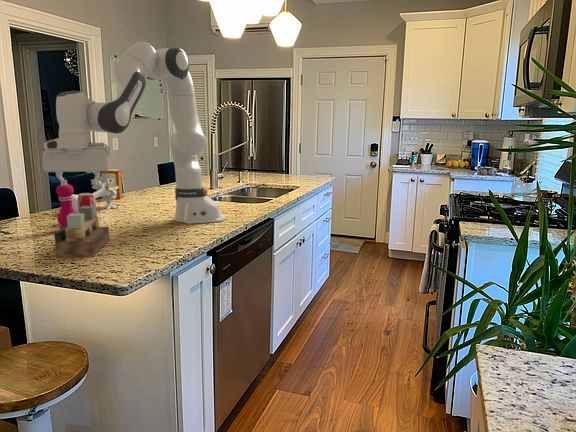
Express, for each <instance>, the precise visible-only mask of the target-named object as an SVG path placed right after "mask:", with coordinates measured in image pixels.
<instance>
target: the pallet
mask: <svg viewBox="0 0 576 432" xmlns="http://www.w3.org/2000/svg"><path fill="white" fill-rule="evenodd" d="M99 223H100V222H99V216H97V217H95V218H94V219H86V220H85V226H83V227H82V228H68V227H67V228H66V229H65V232H66V241H83V240H85V239H86V235H90V234H92V233H93V230H95V229H98V228H99V227H100V225H99Z"/></svg>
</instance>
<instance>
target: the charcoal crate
mask: <svg viewBox="0 0 576 432" xmlns="http://www.w3.org/2000/svg"><path fill="white" fill-rule="evenodd" d="M79 210H80V213H84V219H85V220H86V219H94V218H95V217H96V212H95V206H82V207H81V208H79Z"/></svg>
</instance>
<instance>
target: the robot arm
mask: <svg viewBox="0 0 576 432" xmlns="http://www.w3.org/2000/svg"><path fill="white" fill-rule="evenodd" d="M189 70H190V61H189V56H188V55H187V53H186V52H185V51H184V49H182V48H178V47H166V48H158V49H155V48H154V47H153V46H152V45H151V44H150V43H148V42H146V41H137V42H136V43H134V44H132V45H131V46H130V47H129V48H127V50H125V51H124V53H122V55H121V56H120V57H119V58H118V59H117V61H116V63H115V64H114V67H113V75H114V78H115V80H116V82H118V84H119V85H120V86H121V87H122V89H121V91H120V92H119V94H118V96H117V97H116V99H114V100H112V101H108V102H107V101H106V102H104V101H103V102H96V101H95V100H92V99H90V98H88V97H87V96H86V95H85V94H84V93H83V91H80V90H71V91H63V92H61V93H58V94H57V95H56V99H55V100H56V102H55V111H56V120H57V123H58V126H59V128H58V138H54V139H51V140H48V141H46V142H45V141H44V143H43V148H44V151H43V152H42V155H41V156H42V158H41V159H42V169H43V170H44V171H45V173H55V176H56V177H57V179H58V180H59V181H60V185H61V186H66V185H67V184H68V180H67V179H65V178H64V177H63V174H64V172H65V173H73V172H75V173H77V172H84V173H85V172H86V173H87V172H93V175H94V178H93V179H90V182H91V186H94V185H98V184H97V180H98V177H99V176H100V171H108V170H111V169H112V168H111V167H112V165H111V161H110V147H109V145H108V144H107V143H104V142H91V140H90V139H91V138H90V132H92V133H94V132H95V133H111V134H121V133H123V132H125V131H126V130H127V129H128V127H129V125H130V123H131V120H132V119H131V118H132V115H133V111H135V108H136V106H137V104H138V103H139V101H140V98H141V97H142V95H143V94H144V91H145V89H146V85H147V82H146V80H152V81H155V80H164V81H165V82H166V91H167V100H168V107H169V115H170V119H171V121H172V122H173V125H174V128H175V131H174V132H172V133H171V134H170V135H169V138H168V145H169V148H170V150H171V156H172V160H173V165H174V173H175V188H174V195H175V201H176V202H175V204H176V205H175V213H174V217H173V220H174V221H175V222H179V223H183V224H187V225H188V224H189V225H191V224H202V223H207V224H208V223H219V222H224V221H225V220H226V215H225V214H224V213H222V212H221V208H220V206H219V205H220V204H219V203H217V201H215V200H213V199H212V198H210V196H208V189H207V188H205V187H204V186H203V183H202V182H203V179H202V178H203V177H202V168H201V165H200V164H199V160H198V156H201V155H202V154H204V153H205V151H206V150H207V148H208V140H207V138H206V135H205V134H204V131H203V129H202V125H201V122H200V120H199V116H198V115H199V114H198V111H197V102H196V95H195V94H196V91H195V88H194V83H193V79H192V76H191V74H190V72H189Z"/></svg>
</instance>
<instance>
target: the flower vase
mask: <svg viewBox="0 0 576 432" xmlns="http://www.w3.org/2000/svg"><path fill="white" fill-rule="evenodd" d="M111 177H112V176H108V177H107V178H106V174H103V175H102V178H101V177H100V175H99V177H98V179H97V185H91V188H92V189H93V190H96V191H94V192H93V195H94V197H95V200H96V199H98V198H101V199H99V202H100V203H104V202H106V205H105V206H103V207H102V209H105V210H109V209H117V208H118V206H119V205H118V206H117V205H115V204H113V203H111V201H112V199H115V198H116V197H115V196H113V195H114V194H116V193H117V192H116V190H115V189H118V188H119V187H118V186H117V185H114V183H115V180H114V179H112V181H111V182H110V181H109V180H108V179H109V178H111ZM107 180H108V181H107ZM101 181H102V182H104V183H103V184H102V183H101ZM105 181H106V183H105ZM106 190H108V192H107V191H106ZM112 191H113V192H112ZM72 196H73V197H72V198H73V200H72V207H73V209H74V211H75V212H76V213H79V212H78V200H77V199H78V196H79V194H74V193H73V194H72ZM102 197H103V198H102ZM110 199H111V200H110Z"/></svg>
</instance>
